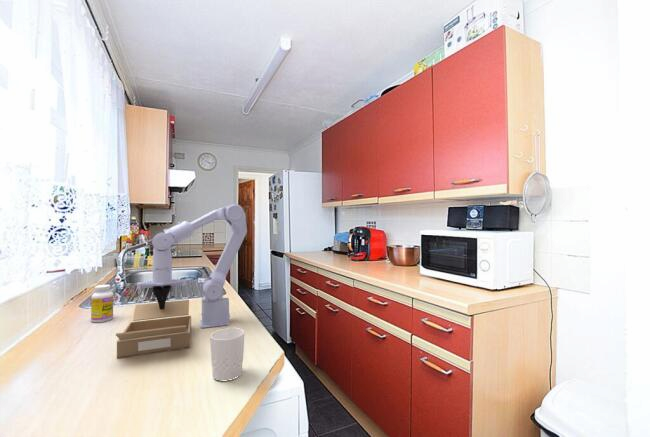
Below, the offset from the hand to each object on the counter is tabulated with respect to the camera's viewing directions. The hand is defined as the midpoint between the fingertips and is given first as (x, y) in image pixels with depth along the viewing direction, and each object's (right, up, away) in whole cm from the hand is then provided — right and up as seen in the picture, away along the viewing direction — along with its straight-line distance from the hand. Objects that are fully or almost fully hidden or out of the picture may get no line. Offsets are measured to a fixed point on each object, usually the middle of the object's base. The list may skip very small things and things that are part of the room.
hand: (162, 308), depth 103 cm
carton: (+4, -8, -9) cm, 13 cm away
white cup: (+32, -8, -29) cm, 44 cm away
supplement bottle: (-28, -8, +11) cm, 31 cm away
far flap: (0, 0, 0) cm, 1 cm away
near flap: (+8, -1, -19) cm, 21 cm away
